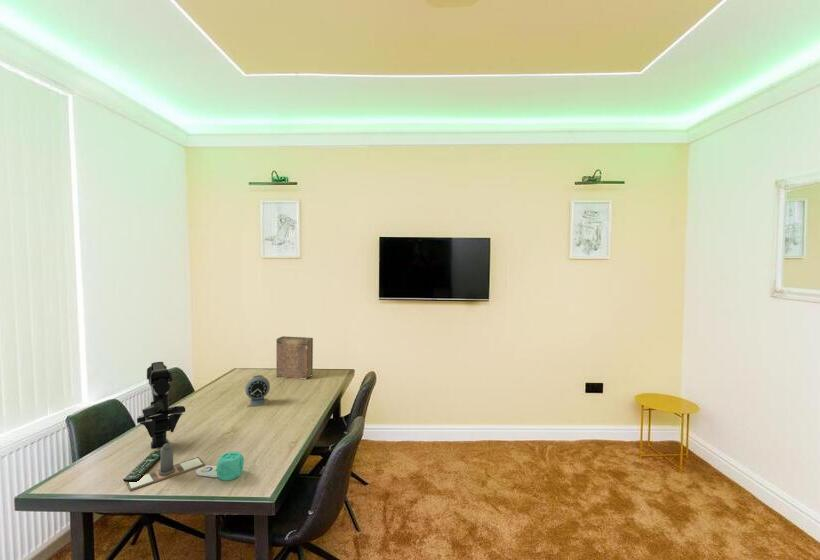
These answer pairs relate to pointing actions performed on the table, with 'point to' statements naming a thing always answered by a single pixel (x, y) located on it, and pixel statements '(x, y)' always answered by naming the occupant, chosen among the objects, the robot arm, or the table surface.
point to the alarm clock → (257, 390)
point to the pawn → (166, 460)
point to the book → (294, 357)
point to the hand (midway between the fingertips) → (162, 434)
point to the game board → (155, 476)
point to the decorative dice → (230, 466)
